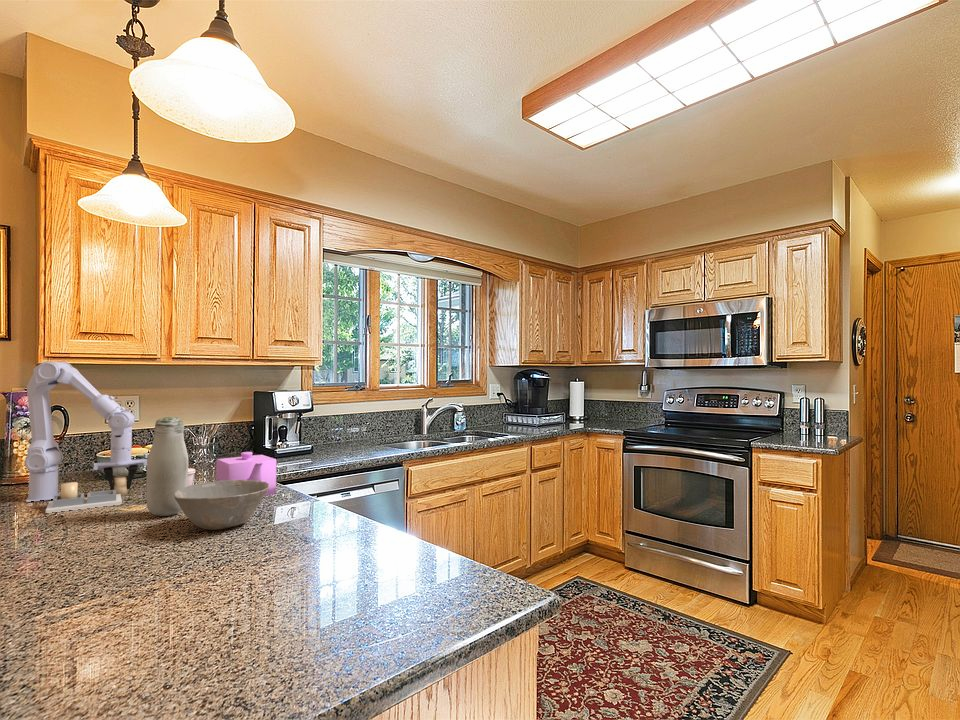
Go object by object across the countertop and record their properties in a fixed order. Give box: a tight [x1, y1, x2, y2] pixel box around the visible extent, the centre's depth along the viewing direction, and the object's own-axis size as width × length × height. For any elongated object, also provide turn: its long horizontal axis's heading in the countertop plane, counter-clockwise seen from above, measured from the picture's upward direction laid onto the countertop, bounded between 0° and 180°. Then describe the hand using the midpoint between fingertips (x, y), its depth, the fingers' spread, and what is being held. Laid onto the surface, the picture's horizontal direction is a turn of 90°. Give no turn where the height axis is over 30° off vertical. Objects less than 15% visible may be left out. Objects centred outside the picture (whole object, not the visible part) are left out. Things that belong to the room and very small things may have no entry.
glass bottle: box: [145, 416, 189, 517], centre depth 149 cm, size 10×10×28 cm
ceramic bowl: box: [174, 480, 270, 531], centre depth 139 cm, size 22×23×10 cm
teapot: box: [215, 451, 277, 496], centre depth 175 cm, size 15×25×14 cm, turn 43°
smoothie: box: [187, 467, 196, 486], centre depth 165 cm, size 6×6×14 cm
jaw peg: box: [113, 475, 129, 497], centre depth 172 cm, size 4×4×6 cm
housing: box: [45, 481, 123, 514], centre depth 159 cm, size 12×18×7 cm, turn 126°
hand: (120, 489), depth 172 cm, fingers closed on jaw peg, 4 cm apart
